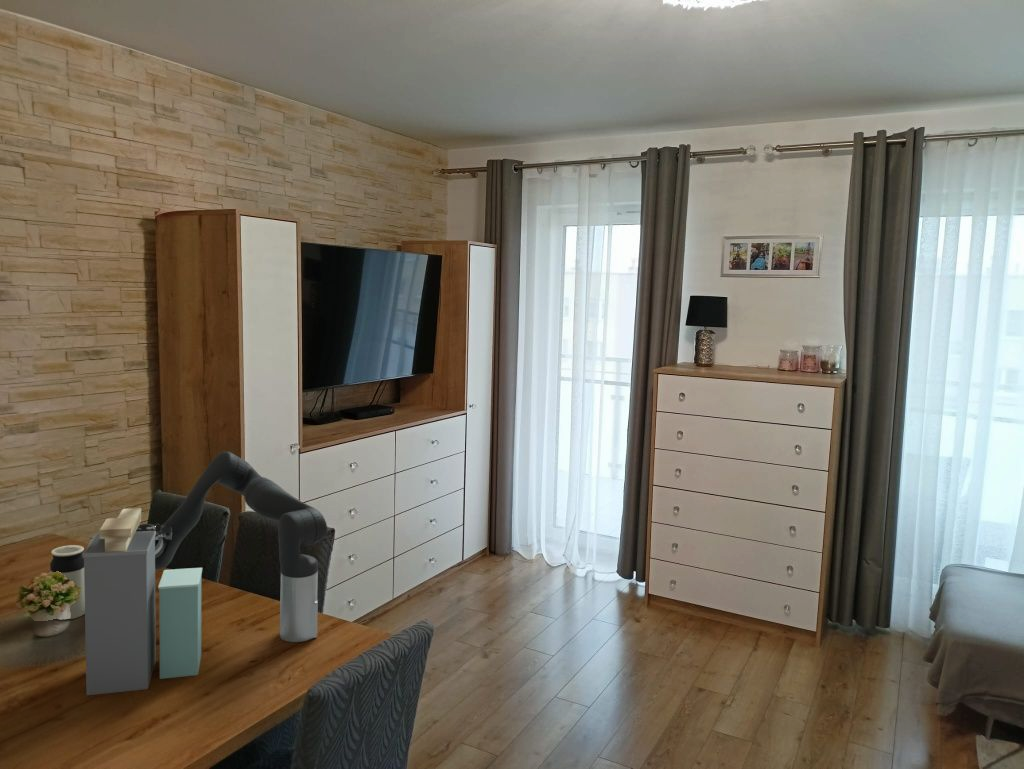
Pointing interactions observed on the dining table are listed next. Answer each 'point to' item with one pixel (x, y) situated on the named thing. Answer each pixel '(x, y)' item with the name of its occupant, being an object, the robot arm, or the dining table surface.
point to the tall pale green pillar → (180, 622)
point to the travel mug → (71, 572)
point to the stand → (120, 615)
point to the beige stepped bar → (120, 530)
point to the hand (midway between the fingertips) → (138, 528)
